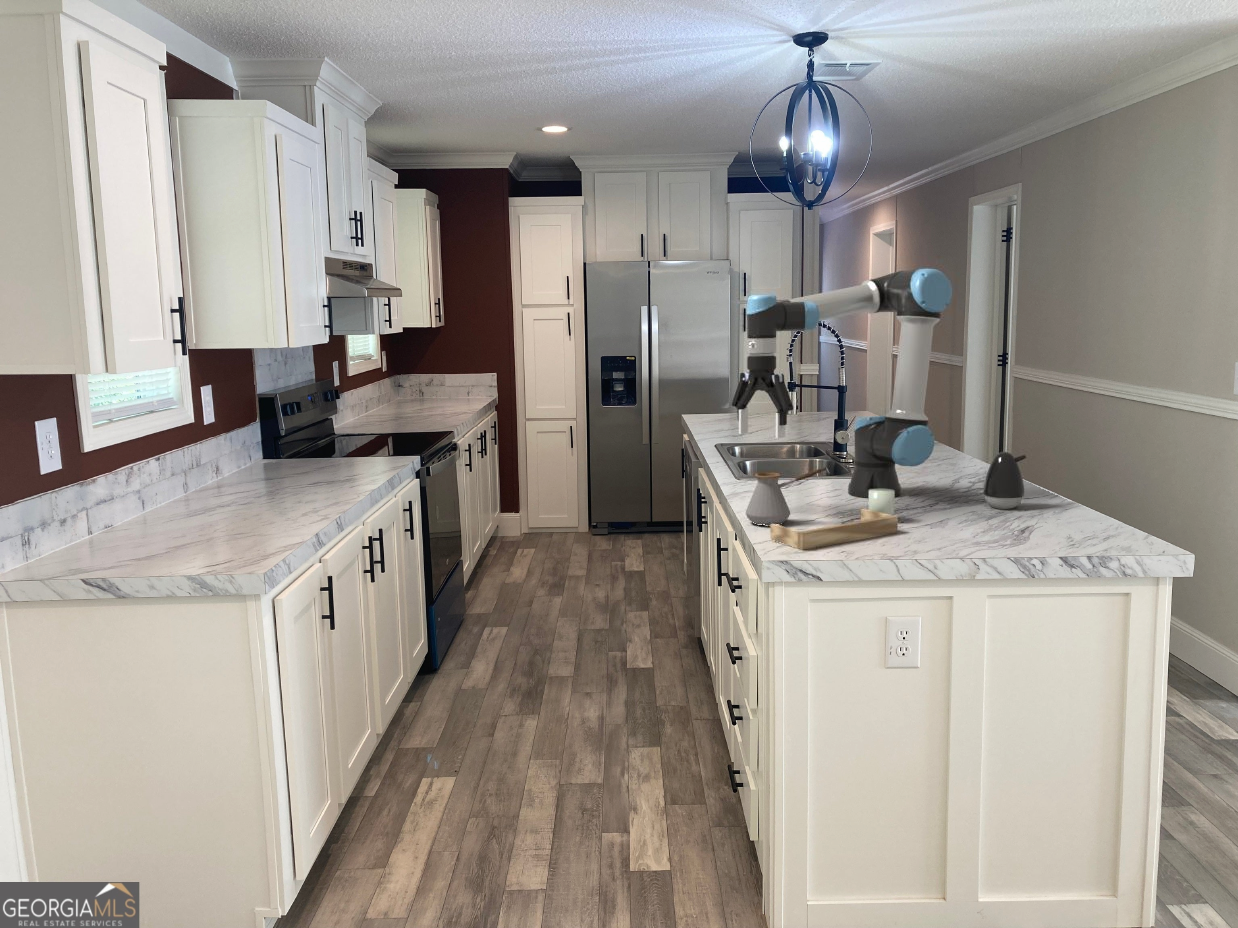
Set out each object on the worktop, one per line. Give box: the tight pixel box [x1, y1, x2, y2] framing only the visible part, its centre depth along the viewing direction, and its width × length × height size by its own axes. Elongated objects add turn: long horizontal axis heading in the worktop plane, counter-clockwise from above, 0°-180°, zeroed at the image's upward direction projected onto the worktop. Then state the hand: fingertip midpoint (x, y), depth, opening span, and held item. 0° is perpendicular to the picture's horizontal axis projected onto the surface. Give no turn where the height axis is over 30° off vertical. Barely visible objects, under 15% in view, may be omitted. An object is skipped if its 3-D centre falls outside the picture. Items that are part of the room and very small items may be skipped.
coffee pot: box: [745, 466, 830, 525], centre depth 239 cm, size 21×12×15 cm, turn 77°
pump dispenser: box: [983, 451, 1027, 510], centre depth 251 cm, size 10×10×15 cm
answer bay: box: [769, 508, 899, 551], centre depth 225 cm, size 12×30×4 cm, turn 119°
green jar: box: [867, 488, 896, 516], centre depth 240 cm, size 6×6×8 cm
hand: (761, 435), depth 246 cm, fingers open, 13 cm apart
